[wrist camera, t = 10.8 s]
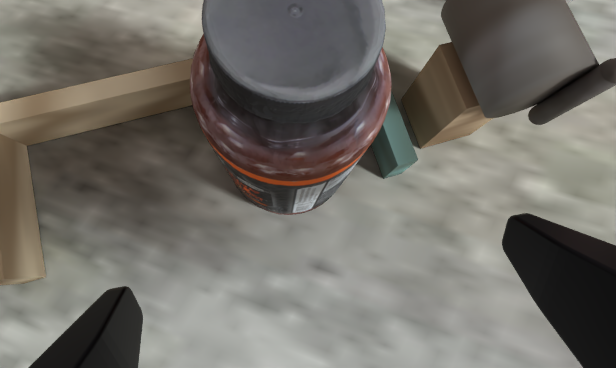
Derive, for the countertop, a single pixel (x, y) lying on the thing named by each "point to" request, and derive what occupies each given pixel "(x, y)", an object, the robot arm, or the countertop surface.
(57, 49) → the countertop surface
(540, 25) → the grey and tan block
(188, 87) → the frame
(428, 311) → the countertop surface
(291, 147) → the supplement bottle
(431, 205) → the countertop surface
